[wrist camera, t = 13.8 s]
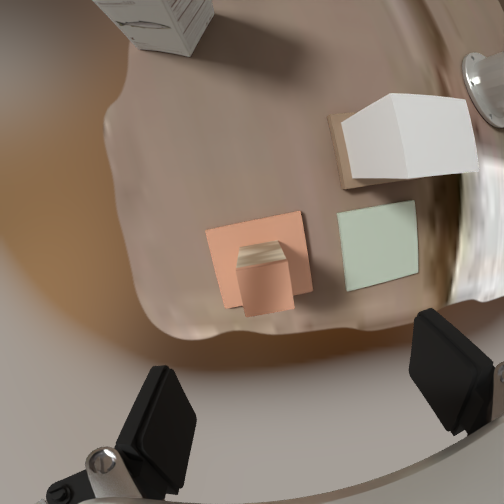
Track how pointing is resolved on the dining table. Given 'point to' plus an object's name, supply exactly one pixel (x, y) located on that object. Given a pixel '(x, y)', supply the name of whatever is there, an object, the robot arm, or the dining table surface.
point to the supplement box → (161, 22)
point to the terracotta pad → (254, 232)
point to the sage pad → (378, 243)
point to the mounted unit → (403, 140)
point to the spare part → (264, 279)
